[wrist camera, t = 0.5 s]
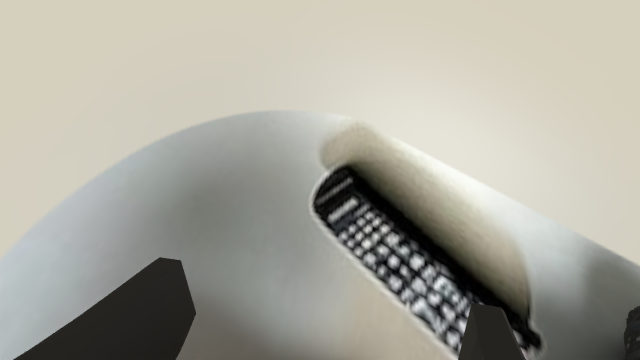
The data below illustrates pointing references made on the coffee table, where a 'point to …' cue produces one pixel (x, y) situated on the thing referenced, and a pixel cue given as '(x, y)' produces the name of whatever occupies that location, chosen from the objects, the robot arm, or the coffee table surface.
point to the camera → (632, 335)
